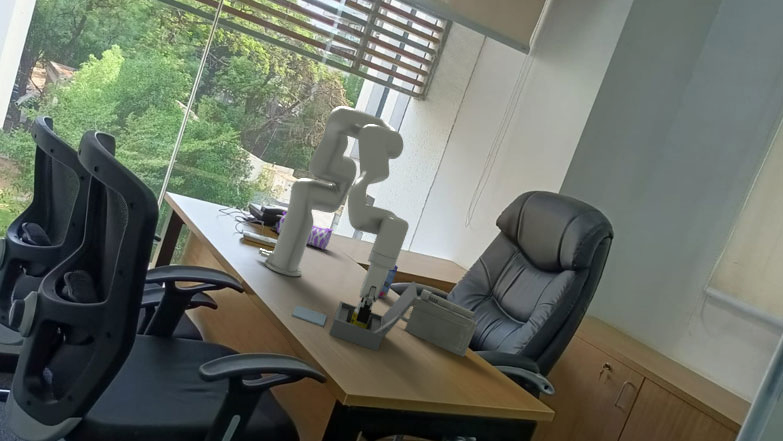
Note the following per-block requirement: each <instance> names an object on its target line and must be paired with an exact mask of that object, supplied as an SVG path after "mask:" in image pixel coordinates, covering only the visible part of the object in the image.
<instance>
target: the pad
mask: <svg viewBox="0 0 783 441" xmlns="http://www.w3.org/2000/svg"><path fill="white" fill-rule="evenodd" d="M291 316H292V317H295V318H298V319H300V320H304V321H306V322H309V323H312V324H314V325H317V326H320V327H324V326H325V324H326V323H325V322H326V320H327V315H326V314H324V313H321V312H318V311H314V310H312V309H310V308H308V307H304V306H301V305H299V304H297V305H296V307H295V309H294V311H293V313H292V314H291Z"/></svg>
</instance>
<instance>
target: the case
mask: <svg viewBox="0 0 783 441" xmlns="http://www.w3.org/2000/svg"><path fill="white" fill-rule="evenodd" d="M416 284H417V283H416V281H412V282H411V283H410V285H408V286H407V288H406V289H405V290H404V291H403V292H402V293H401V294H400V296H399V297H398V298H397V299H396V301H394V303H393V304H392V305H391V306H390V307H389V308H388V310H387V311H386V312H385V313H384V315H381V314H377V313H376V312H373V311H371V314H370V318H369V321H368V324H367V326H366V329H364V328H362V327H359V326H356V325H353V324H350V321H351V318H352V316H353V313H354V310H355V309H356V308H357V306H356V305H352V304H350V303H347V302H345V301H341V300H340V301H339V304H338V305H337V306H338V307H337V309H336V312H335V315H334V318H333V321H332V323H331V327H330V330H329V335H331V336H333V337H336V338H339V339H342V340H345V341H347V342H349V343H353V344H356V345H358V346H360V347H363V348H366V349H369V350H373V351H376V352H378V350H379V347H380V346H381V342H382V340H383V337H386V335H388V333H389V332H390V331H391V330H392V329H393V328H394V327H395V325H396V324H397V323H398V321H400V320H402V319H403V317H405V314H406V313H407V312H408V311H409V309H410V308H411V307H412V305H413V306H414V304H415V302H416V300H417V297H418V293H417V285H416ZM348 321H349V322H348ZM367 328H368V329H367Z"/></svg>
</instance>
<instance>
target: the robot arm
mask: <svg viewBox="0 0 783 441" xmlns="http://www.w3.org/2000/svg"><path fill="white" fill-rule="evenodd" d="M348 137H349V138H352V139H355V140H357V141H358V156H359V157H358V158H359V161H358V162H359V176H358V177H357V179H356V176H357V168H358V167H357V163H356V162H355V160H354V159H353V158H351V157H349V156H346V155H344V154H345V153H346V151H347V149H348V145H349V138H348ZM317 144H318V145H317V147H316V149H315V150H314V153H313V155H312V157H311V159H310V161H309V163H308V172H309V174H310V175H311V176H312V177H314V178H316V179H313V178H308V177H301V178H298V179H296V180H295V181H294V182H293V184H292V186H291V191H290V194H289V195H290V196H289V202H288V207H287V211H286V212H285V214H286V216H285V219H284V222H283V225H282V228H281V231H280V234H279V233H278V238H277V240H276V243H275V245H274V246H275V247H274V249H273V250H269V251H268V250H266V249H264V248H260V249H259V251H258V254H259V255H260V256H261V257H263V258H267V259H265V261H264V266H266V267H267V268H268V269H269V270H271V271H274V272H276V273H278V274H281V275H285V276H290V277H299V276H301V275H302V273H303V272H302V270H301V268H299V267H300V264H301V261H302V259H303V256H304V253H305V250H306V247H307V245H308V244H307V242H308V239H309V236H310V233H311V230H312V227H313V225H314V216H313V211H318V212H319V211H320V212H323V213H328V214H331V213H332V214H333V213H335V212H337V211H339V209H340V208H341V206H342V205H343V202H344V200H345V199H346V197H347V195H348V197H347V214H348V221H349V224H350V226H351V227H352V228H353V229H354V230H356V231H359V232H363V233H367V234H372V235H376V236H375V240H374V243H373V244H372V248H371V251H370V253H369V256H368V259H367V261H368V262H369V266H368V269H367V271H366V275H365V277H364V280H363V282H362V285H361V288H360V291H359V298H360V299H361V300H360V302H363V304H362V307H360V309H359V312H358V315H357V318H356V320H357V321H359V322H362V323H365V324H367V323H368V320H369V317H370V314H371V312H373V310H372V309H373V306H374V304H375V303H377V301H378V299H379V298H380V297H379V294H380V292H381V290H382V287H383V285H384V282H385V279H386V277H387V274H388V271H389V270H394V267H395V265H396V264H397V261H398V258H399V255H400V253H401V249H402V248H403V245H404V241H405V239H406V236H407V234H408V230H409V227H410V226H409V225H410V224H409V223H408V221H406V220H405V219H403V218H400V217H398V216H397V215H396V214H395V213H394V212H392V211H391V210H388V209H385V208H381V207H377V206H373V205H369V204H368V203H367V189H368V187H369V185H374V184H378V183H382V182H383V181H385V180H387V179H388V178H389V176H390V165H389V159H390V160H395V159H398V158H399V157H400V156H401V154H402V152H403V150H404V140H403V137H402V135H401V134H400V132H399V131H398V130H396V129H395V128H394V127H393V126H391V125H390V124H389V123H388V122H386V121H385V120H384V119H382V118H380V117H377V116H375V115H373V114H369V113H367V112H364V111H362V110H359V109H356V108H353V107H350V106H346V105H345V106H344V105H343V106H341V105H339V106H336V107H335V108H334V109H332V111H331V112H330V113H329V115H328V117H327V120H326V123H325V128H324V132H323V134H322V137H321V139H320V141H319V143H317ZM317 179H319V180H317ZM320 180H321V181H320Z"/></svg>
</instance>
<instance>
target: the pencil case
mask: <svg viewBox="0 0 783 441" xmlns="http://www.w3.org/2000/svg"><path fill="white" fill-rule="evenodd" d="M286 213H287V211H283V212H282V213H281V214H282V217H281V218H280V220H279V221H276V222H275V225H274V227H276V230H277V231H276V232H277V233H278V235H279V234H280V231H281V228H282V225H283V222H284V219H285V216H286ZM332 231H334V229H333V228H328V227H326V228H325V227H323V228H322V227H318V226H316V225H314V224H313V227H312V230H311V233H310V236H309V239H308V242H307V245H309V246H313V247H315V248H318V249H321V250H323V251H324V250H325V249H326V248H327V247H328V245H329V242H330V239H331V235H332V233H333V232H332Z"/></svg>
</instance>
